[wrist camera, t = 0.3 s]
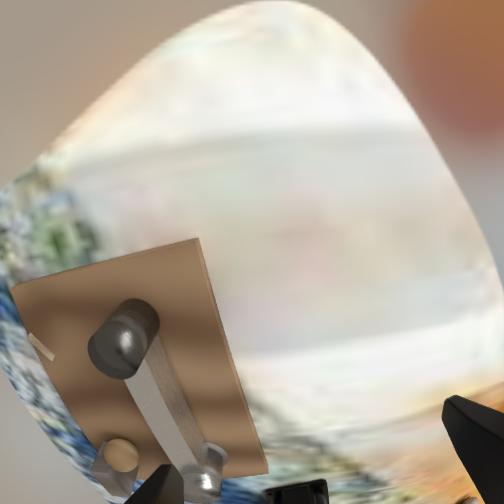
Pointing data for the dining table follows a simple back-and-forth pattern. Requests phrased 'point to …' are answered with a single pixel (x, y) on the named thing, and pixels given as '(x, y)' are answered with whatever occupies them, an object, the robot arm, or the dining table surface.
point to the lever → (157, 394)
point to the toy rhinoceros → (471, 500)
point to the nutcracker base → (175, 347)
